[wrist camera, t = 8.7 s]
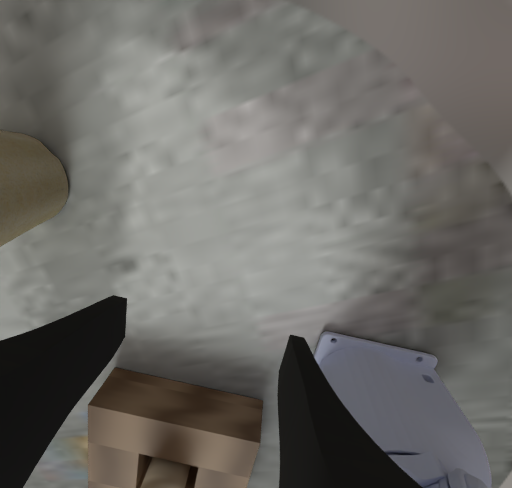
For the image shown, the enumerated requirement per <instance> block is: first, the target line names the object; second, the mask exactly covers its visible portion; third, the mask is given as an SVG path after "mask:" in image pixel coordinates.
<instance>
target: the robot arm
mask: <svg viewBox="0 0 512 488" xmlns="http://www.w3.org/2000/svg"><path fill="white" fill-rule="evenodd" d="M126 309H127V298H123V297H118V296H114V295H113V296H111V297H108V298H106V299H104V300H101V301H99V302H97V303H95V304H93V305H91V306H88V307H86V308H84V309H82V310H80V311H77V312H75V313H73V314H71V315H69V316H66V317H64V318H61V319H59V320H57V321H54V322H52V323H49V324H47V325H44V326H42V327H39V328H37V329H34V330H31V331H29V332H26V333H23V334H20V335H17V336H14V337H11V338H8V339H5V340H1V341H0V488H23V486H24V485H25V483H26V481H27V480H28V478H29V476H30V475H31V473H32V471H33V470H34V468H35V466H36V465H37V463H38V461H39V460H40V458H41V457H42V455H43V453H44V452H45V450H46V449H47V447H48V445H49V444H50V442H51V441H52V439H53V437H54V436H55V434H56V433H57V431H58V430H59V428H60V427H61V425H62V424H63V422H64V421H65V419H66V418H67V416H68V415H69V413H70V412H71V410H72V409H73V408H74V406H75V405H76V404H77V402H78V401H79V400H80V399H81V397H82V396H83V395H84V394H85V392H86V391H87V390H88V388H89V387H90V386H91V385H92V383H93V382H94V381H95V380H96V378H97V377H98V376H99V374H100V373H101V372H102V371H103V369H104V368H105V367H106V365H107V364H108V363H109V362H110V360H111V359H112V358H113V356H114V354H115V353H116V351H117V350H118V348H119V346H120V344H121V343H122V341H123V339H124V338H125V328H126ZM332 338H336V339H335V340H331V339H332ZM418 357H420V358H418ZM416 358H418V359H416ZM437 363H438V360H437V358H436V357H435V356H434V355H432V354H428V353H423V352H419V351H414V350H410V349H405V348H401V347H396V346H392V345H387V344H383V343H378V342H373V341H369V340H364V339H360V338H355V337H351V336H346V335H342V334H337V333H333V332H327V331H326V332H323V333H322V334H321V336H320V339H319V342H318V345H317V348H316V351H315V354H314V356H313V354H312V352H311V350H310V348H309V346H308V344H307V342H306V340H305V339H304V338H303V337H298V336H294V335H290V337H289V340H288V343H287V347H286V350H285V353H284V357H283V360H282V363H281V366H280V370H279V379H278V417H279V437H280V481H279V488H491V487H492V479H491V471H490V466H489V462H488V458H487V455H486V452H485V449H484V447H483V444H482V442H481V440H480V438H479V436H478V435H477V433H476V431H475V430H474V428H473V427H472V425H471V424H470V422H469V421H468V419H467V418H466V416H465V415H464V413H463V412H462V410H461V409H460V407H459V406H458V404H457V403H456V401H455V400H454V398H453V397H452V395H451V394H450V392H449V391H448V389H447V388H446V386H445V385H444V383H443V382H442V380H441V379H440V377H439V376H438V374H437V373H436V371H435V370H434V369H435V367H436V365H437Z"/></svg>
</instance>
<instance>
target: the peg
mask: <svg viewBox="0 0 512 488" xmlns="http://www.w3.org/2000/svg"><path fill="white" fill-rule="evenodd" d="M190 467H191V465H188V464H183V463H179V462H174V461H170V460H165V459H161V458H157V457H152V460H151V462H150V465H149V467H148V470H147V472H146V475H145V477H144V480H143V482H142V485H141V487H140V488H185V485H186V482H187V478H188V474H189V471H190Z"/></svg>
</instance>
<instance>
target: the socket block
mask: <svg viewBox="0 0 512 488" xmlns="http://www.w3.org/2000/svg"><path fill="white" fill-rule="evenodd" d="M262 408H263V400H259V399H254V398H250V397H245V396H241V395H236V394H232V393H227V392H223V391H218V390H214V389H209V388H205V387H200V386H196V385H191V384H187V383H182V382H178V381H173V380H169V379H164V378H160V377H155V376H151V375H146V374H142V373H137V372H133V371H128V370H124V369H119V368H114V370H113V371H112V372H111V374H110V375H109V376H108V378H107V379H106V381H105V382H104V383H103V385H102V386H101V388H100V389H99V390H98V392H97V393H96V395H95V396H94V397H93V399H92V400H91V401H90V403H89V404H88V488H140V487H141V485H142V482H143V480H144V477H145V475H146V472H147V470H148V467H149V465H150V462H151V460H152V457H157V458H161V459H165V460H170V461H174V462H179V463H183V464H188V465H191V467H190V471H189V474H188V478H187V482H186V485H185V488H247V484H248V481H249V478H250V475H251V471H252V468H253V465H254V462H255V458H256V455H257V452H258V449H259V445H260V438H261V423H262Z"/></svg>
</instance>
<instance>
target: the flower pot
mask: <svg viewBox="0 0 512 488" xmlns="http://www.w3.org/2000/svg"><path fill="white" fill-rule="evenodd" d="M67 198H68V181H67V177H66V173H65V171H64V168H63V166H62V164H61V162H60V161H59V159H58V158H57V157H55V156H54V155H53V154H52V153H51V152H50V151H49V150H48V149H47V148H46V147H45V146H44V145H43V144H42V143H41V142H40V141H39V140H37V139H35V138H33V137H31V136H28V135H25V134H21V133H15V132H8V131H2V130H0V247H1V246H2V245H4V244H6V243H7V242H9V241H11V240H13V239H14V238H16V237H18V236H20V235H21V234H23V233H25V232H26V231H28V230H30V229H32V228H33V227H35V226H37V225H39V224H41V223H43V222H45V221H46V220H48V219H51V218H52V217H54V216H55V215H57V214H58V212H59V211H60V210H61V209H62V207H63V206H64V205H65V203H66V201H67Z"/></svg>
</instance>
